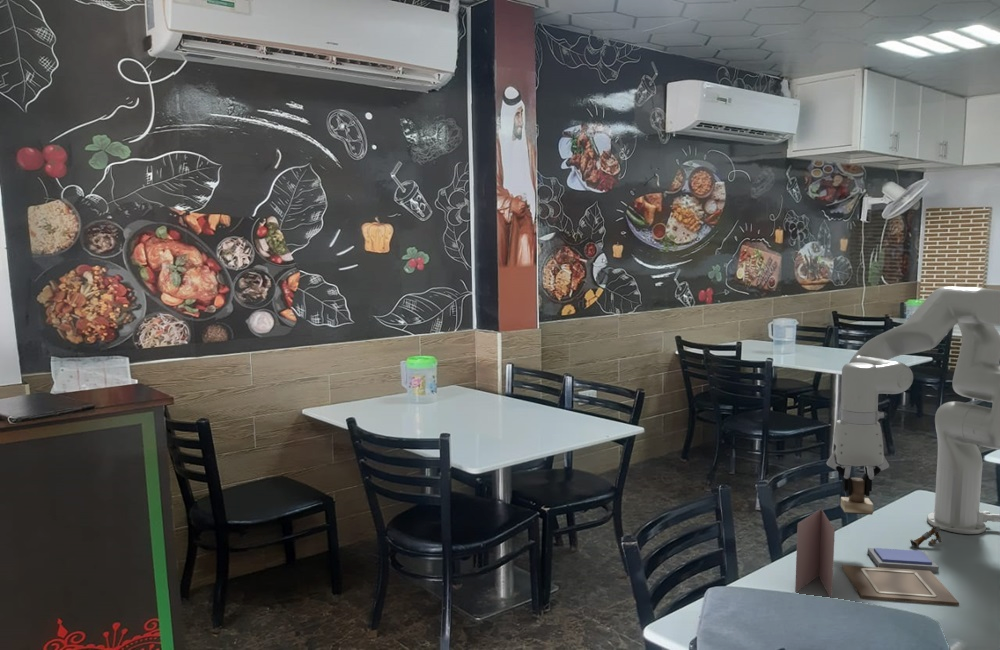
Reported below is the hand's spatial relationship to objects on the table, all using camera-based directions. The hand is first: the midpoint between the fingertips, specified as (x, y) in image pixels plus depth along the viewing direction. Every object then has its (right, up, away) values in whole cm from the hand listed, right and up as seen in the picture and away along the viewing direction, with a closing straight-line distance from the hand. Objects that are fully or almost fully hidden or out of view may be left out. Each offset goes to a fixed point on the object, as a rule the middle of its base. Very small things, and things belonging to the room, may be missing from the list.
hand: (856, 493), depth 166 cm
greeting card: (-16, -16, -17) cm, 28 cm away
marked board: (0, -16, -16) cm, 22 cm away
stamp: (0, -4, 0) cm, 4 cm away
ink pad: (+8, -14, -5) cm, 17 cm away
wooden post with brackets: (+18, -14, +4) cm, 23 cm away
